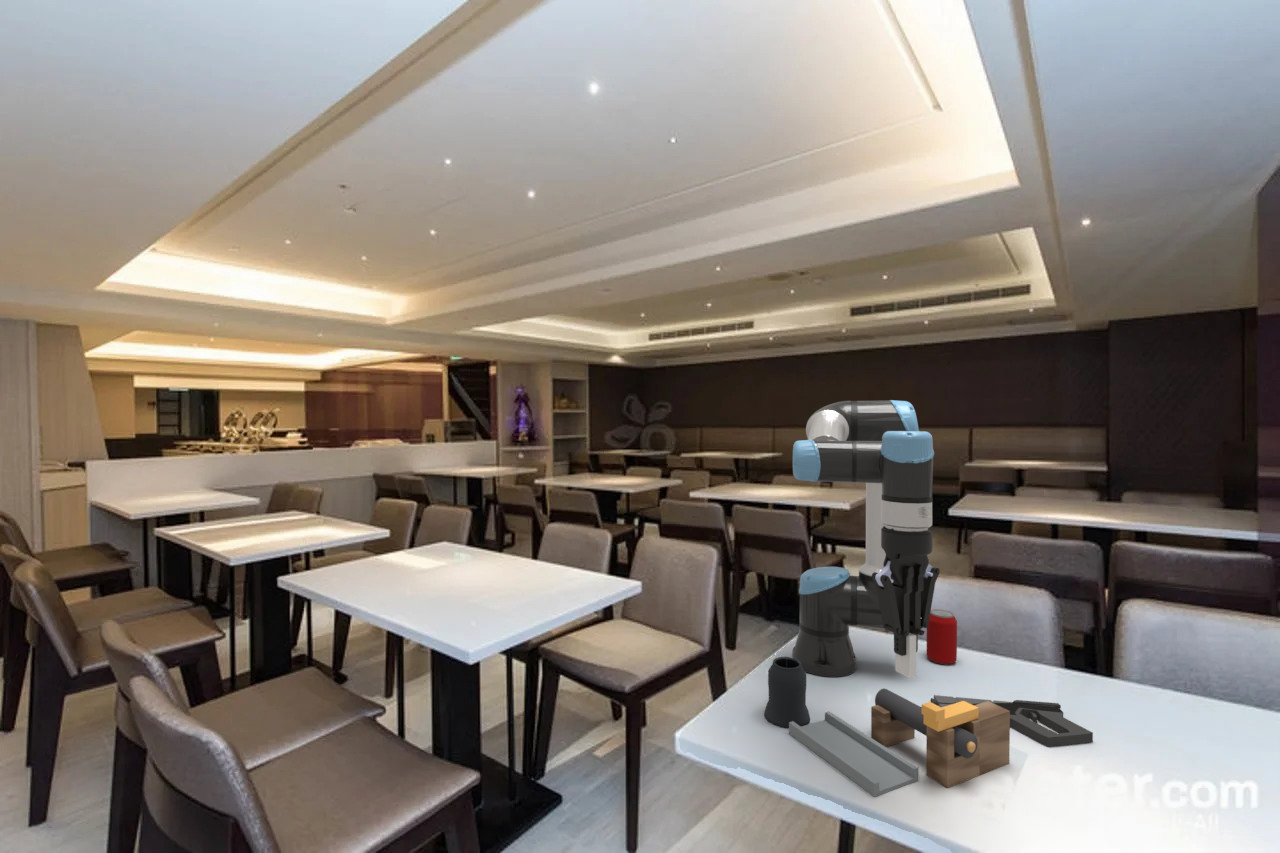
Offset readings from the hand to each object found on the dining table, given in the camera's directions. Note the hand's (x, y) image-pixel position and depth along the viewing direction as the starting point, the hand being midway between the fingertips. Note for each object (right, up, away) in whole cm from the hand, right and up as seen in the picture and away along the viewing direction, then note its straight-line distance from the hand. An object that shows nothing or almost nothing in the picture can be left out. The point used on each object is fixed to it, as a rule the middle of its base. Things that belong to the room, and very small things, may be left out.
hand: (905, 673), depth 95 cm
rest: (+5, -19, +17) cm, 26 cm away
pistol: (+30, -20, +22) cm, 42 cm away
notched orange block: (+10, -10, +5) cm, 15 cm away
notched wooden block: (+14, -20, +7) cm, 25 cm away
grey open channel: (-5, -20, +11) cm, 23 cm away
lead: (+8, -15, +11) cm, 20 cm away
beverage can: (+33, -19, +52) cm, 65 cm away
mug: (-13, -20, +26) cm, 35 cm away
